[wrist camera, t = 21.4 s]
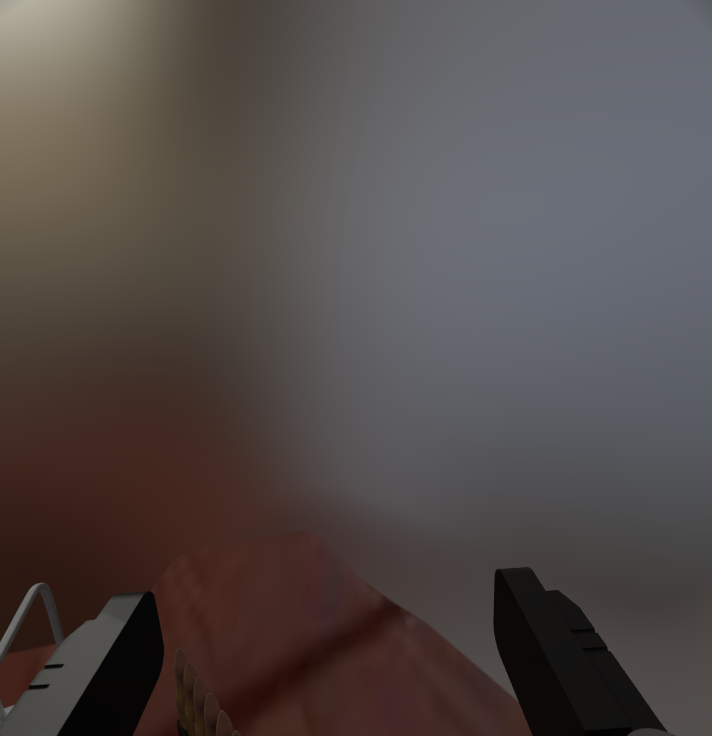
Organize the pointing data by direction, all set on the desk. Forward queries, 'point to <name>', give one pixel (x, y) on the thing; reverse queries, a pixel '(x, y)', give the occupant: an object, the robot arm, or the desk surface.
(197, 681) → the ammunition clip
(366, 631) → the desk surface
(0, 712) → the file sorter
